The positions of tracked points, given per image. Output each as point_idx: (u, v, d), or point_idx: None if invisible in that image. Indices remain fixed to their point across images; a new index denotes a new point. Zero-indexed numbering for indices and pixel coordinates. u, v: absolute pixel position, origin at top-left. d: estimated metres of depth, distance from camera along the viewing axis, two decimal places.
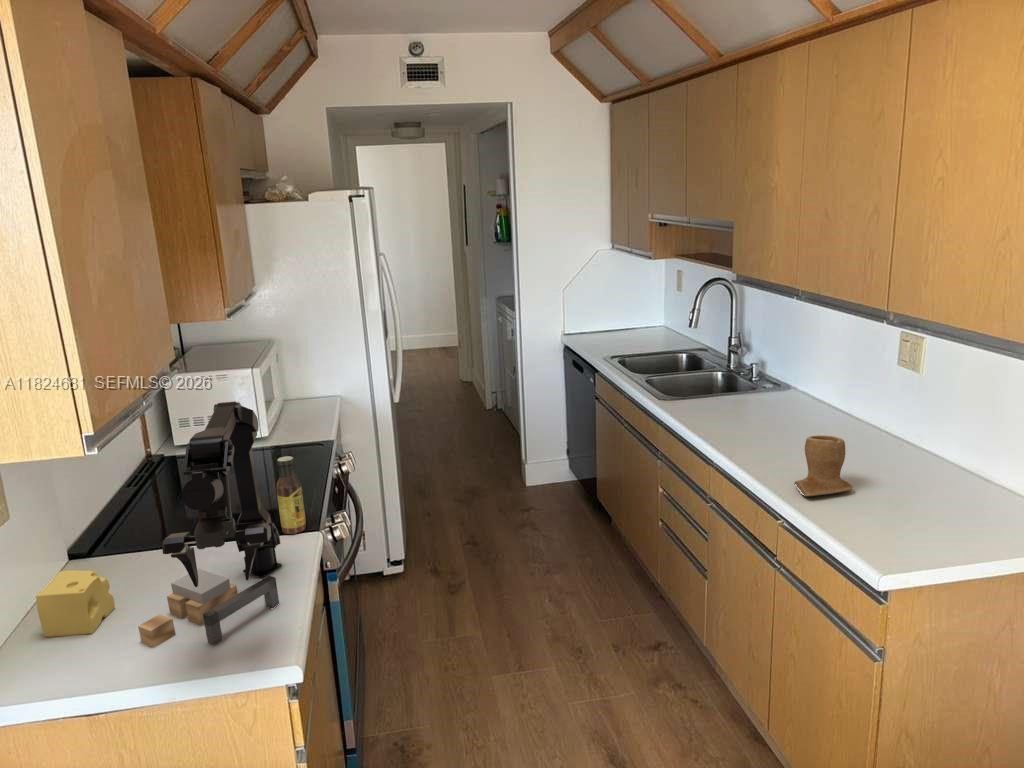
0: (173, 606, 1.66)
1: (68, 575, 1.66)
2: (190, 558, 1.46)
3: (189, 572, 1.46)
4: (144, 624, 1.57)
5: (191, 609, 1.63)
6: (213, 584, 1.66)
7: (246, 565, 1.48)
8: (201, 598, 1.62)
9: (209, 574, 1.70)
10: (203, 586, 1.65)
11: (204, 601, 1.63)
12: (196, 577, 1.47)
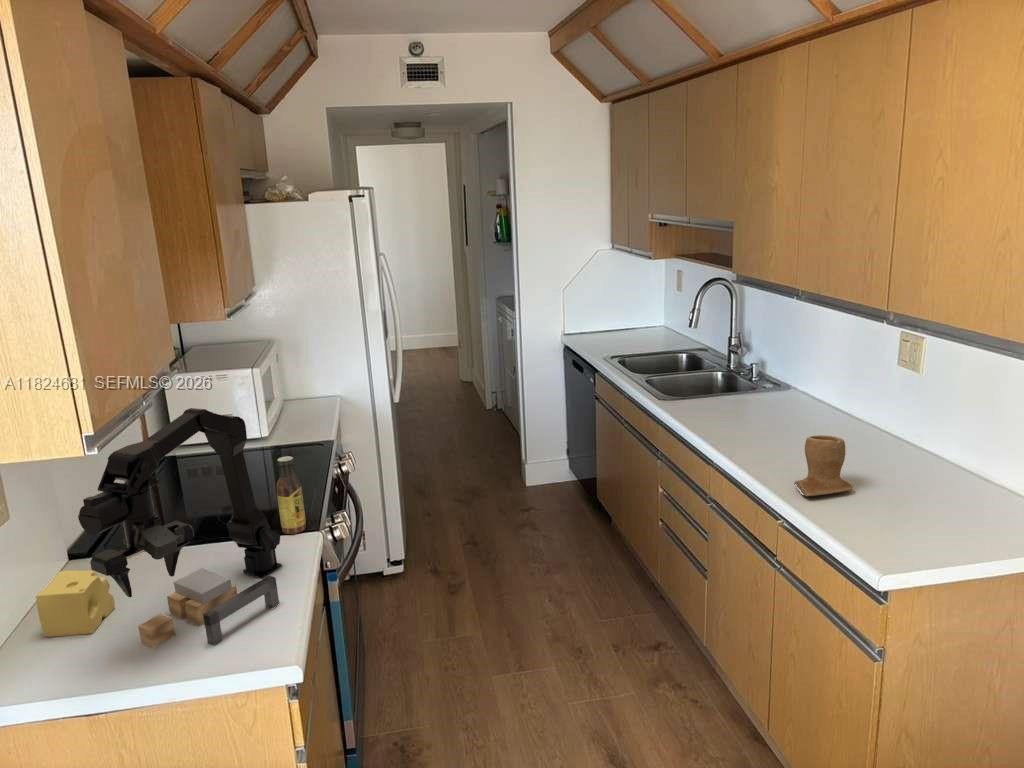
0: (173, 606, 1.66)
1: (68, 575, 1.66)
2: None
3: (126, 585, 1.49)
4: (144, 624, 1.57)
5: (190, 609, 1.63)
6: (214, 584, 1.66)
7: (173, 563, 1.58)
8: (201, 597, 1.62)
9: (212, 573, 1.70)
10: (204, 586, 1.65)
11: (204, 601, 1.63)
12: None
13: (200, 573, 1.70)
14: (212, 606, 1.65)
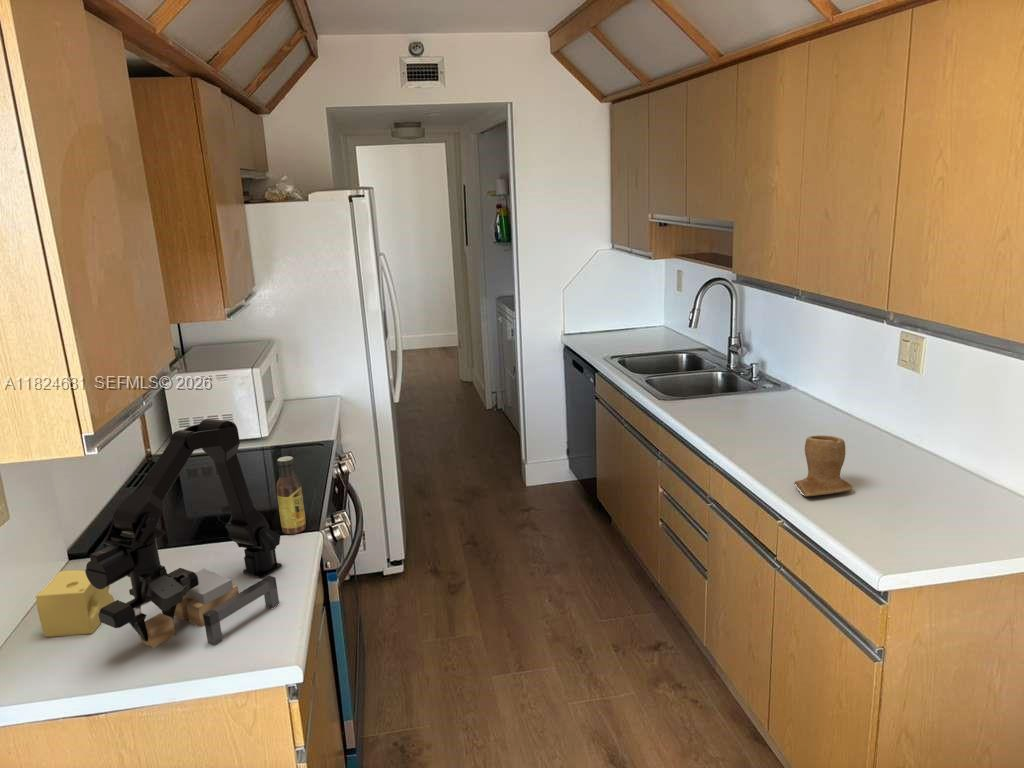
0: None
1: (68, 575, 1.66)
2: None
3: (143, 630, 1.54)
4: None
5: (192, 610, 1.62)
6: (216, 584, 1.65)
7: (171, 614, 1.60)
8: (202, 598, 1.62)
9: (213, 574, 1.70)
10: (206, 586, 1.65)
11: (206, 601, 1.62)
12: None
13: (201, 574, 1.70)
14: None
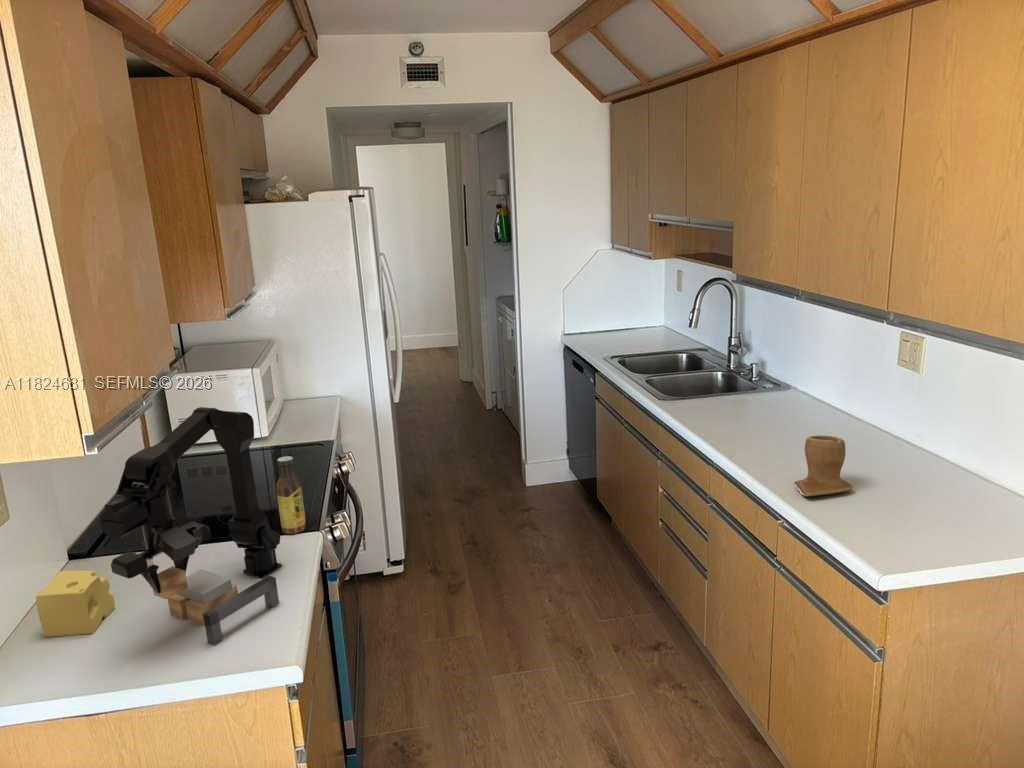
0: (174, 607, 1.66)
1: (68, 575, 1.66)
2: None
3: (155, 582, 1.54)
4: None
5: (191, 609, 1.63)
6: (215, 584, 1.65)
7: (183, 567, 1.59)
8: (202, 598, 1.62)
9: (212, 574, 1.70)
10: (205, 586, 1.65)
11: (205, 601, 1.62)
12: None
13: (199, 574, 1.70)
14: (213, 606, 1.65)
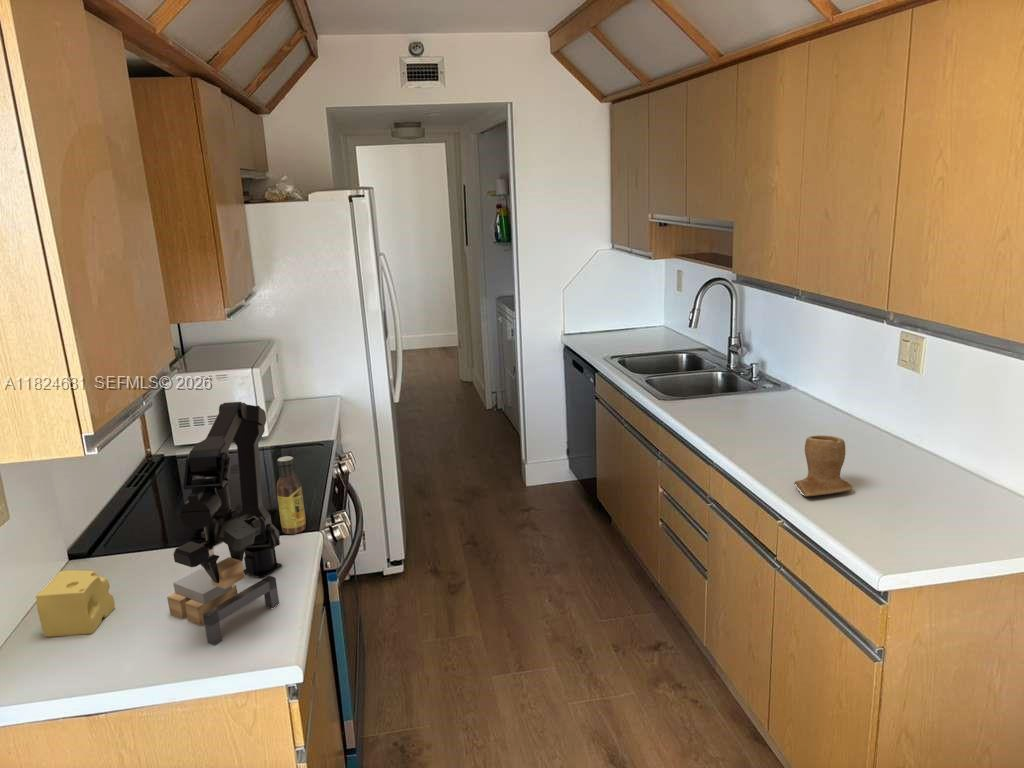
0: (173, 607, 1.66)
1: (68, 575, 1.66)
2: None
3: (215, 572, 1.58)
4: None
5: (191, 609, 1.63)
6: None
7: (240, 558, 1.63)
8: (202, 598, 1.62)
9: None
10: (205, 586, 1.65)
11: (205, 601, 1.62)
12: None
13: (199, 574, 1.70)
14: (212, 606, 1.65)
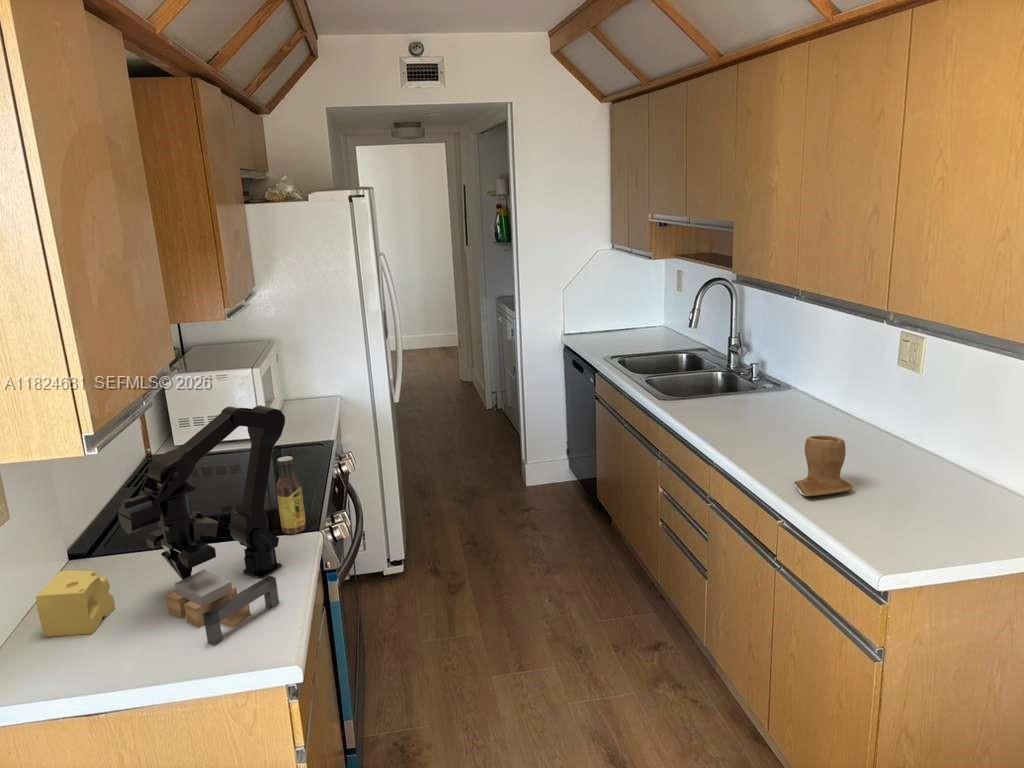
0: (172, 606, 1.66)
1: (68, 575, 1.66)
2: None
3: None
4: None
5: (190, 611, 1.62)
6: (215, 586, 1.65)
7: None
8: (201, 600, 1.61)
9: (213, 575, 1.69)
10: (205, 588, 1.64)
11: (204, 603, 1.62)
12: None
13: (201, 575, 1.70)
14: (212, 608, 1.64)
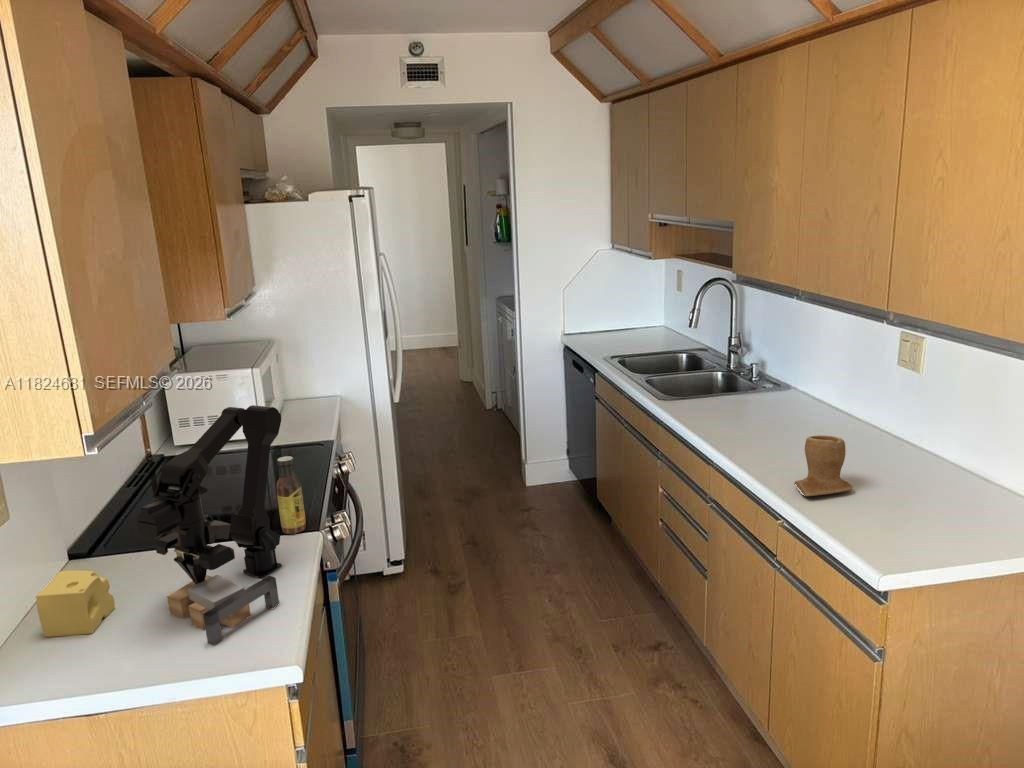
0: (174, 606, 1.66)
1: (68, 575, 1.66)
2: None
3: None
4: None
5: (194, 613, 1.61)
6: (227, 592, 1.62)
7: None
8: (213, 606, 1.58)
9: (226, 581, 1.66)
10: (217, 594, 1.61)
11: None
12: None
13: (214, 580, 1.67)
14: None
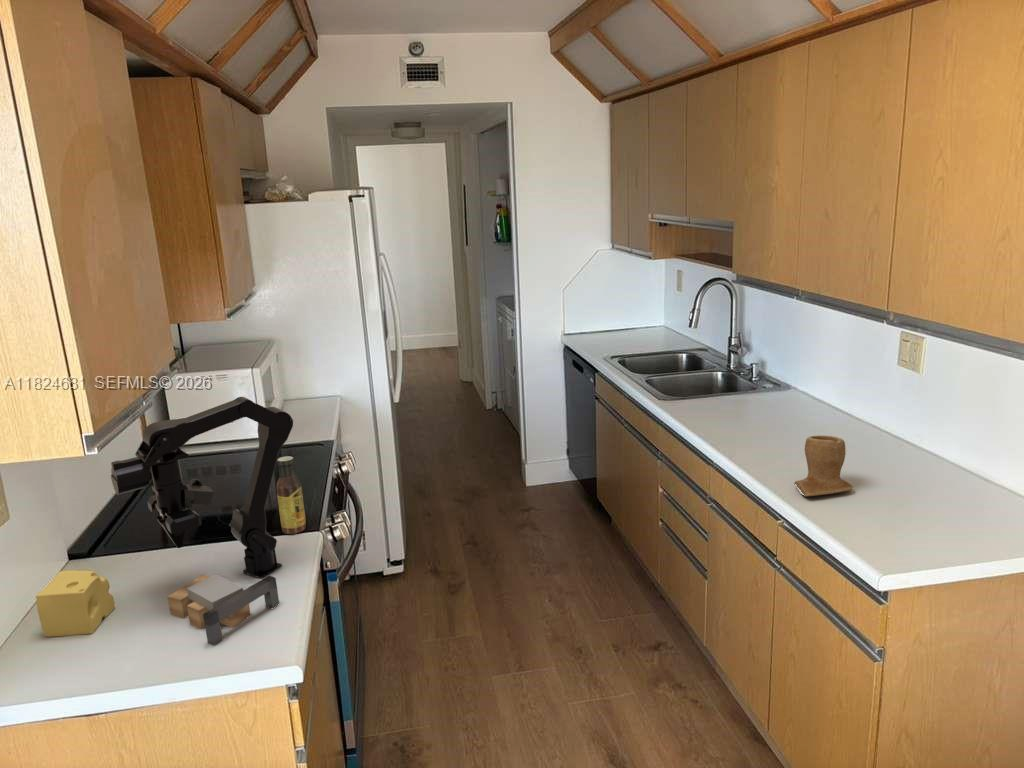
0: (174, 606, 1.66)
1: (68, 575, 1.66)
2: None
3: None
4: None
5: (193, 612, 1.61)
6: (226, 592, 1.62)
7: None
8: (212, 606, 1.59)
9: (225, 581, 1.67)
10: (216, 594, 1.61)
11: None
12: None
13: (214, 580, 1.67)
14: None
